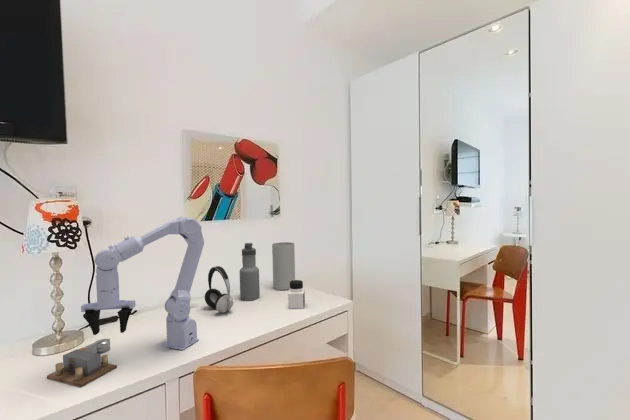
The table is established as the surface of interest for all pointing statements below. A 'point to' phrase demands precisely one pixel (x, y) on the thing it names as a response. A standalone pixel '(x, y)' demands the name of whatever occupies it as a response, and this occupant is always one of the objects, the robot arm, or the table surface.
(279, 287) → the cylinder vase
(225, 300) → the headphones
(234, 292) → the table surface
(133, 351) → the table surface
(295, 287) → the medicine bottle
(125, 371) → the table surface
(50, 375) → the walnut board
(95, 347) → the silver lever knob
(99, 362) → the steel bar
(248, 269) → the water bottle
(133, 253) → the robot arm
